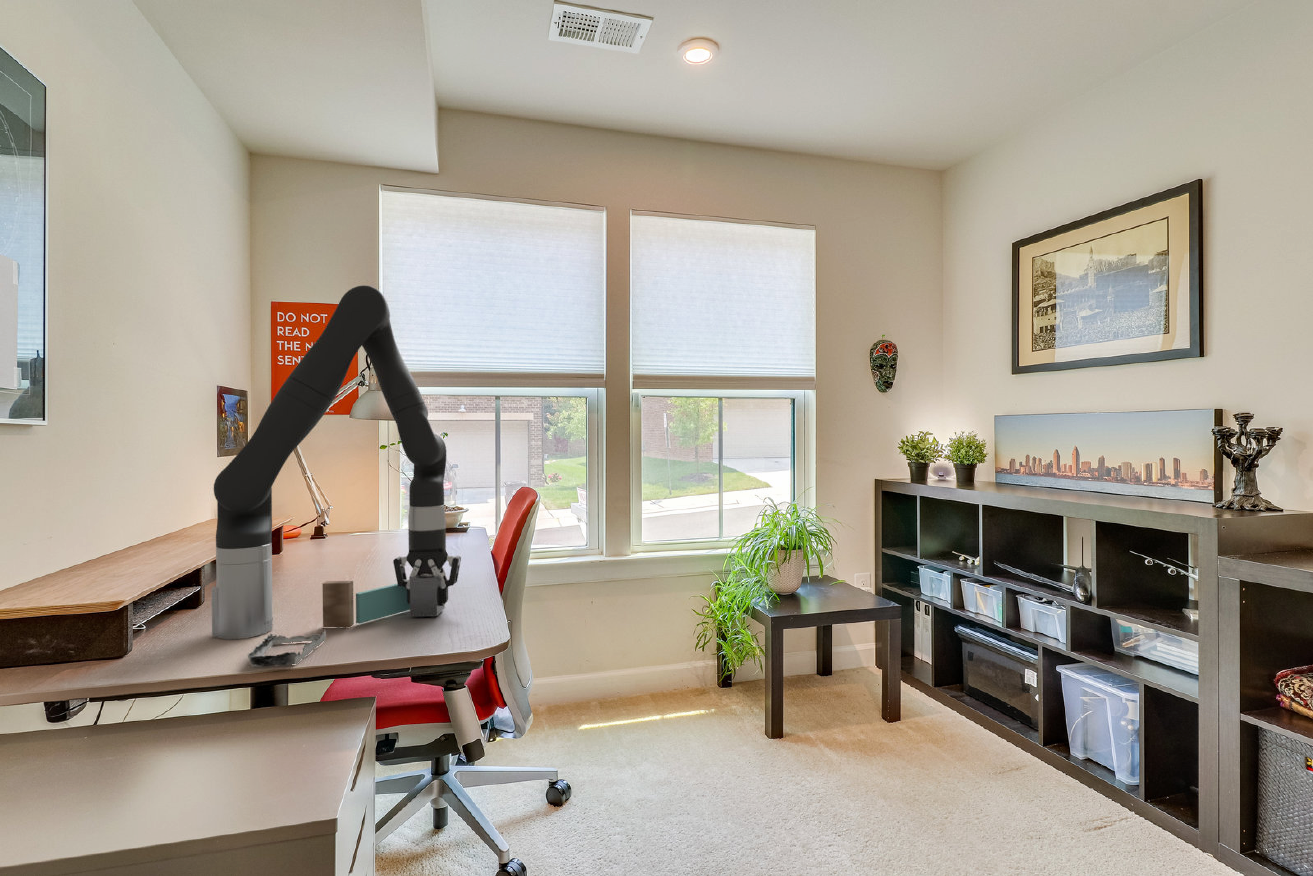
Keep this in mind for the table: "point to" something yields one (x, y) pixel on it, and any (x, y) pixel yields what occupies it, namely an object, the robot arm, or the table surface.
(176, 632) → the table surface
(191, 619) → the table surface
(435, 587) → the block
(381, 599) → the door
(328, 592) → the wall frame
